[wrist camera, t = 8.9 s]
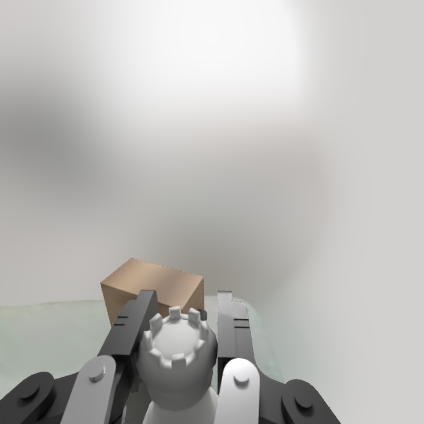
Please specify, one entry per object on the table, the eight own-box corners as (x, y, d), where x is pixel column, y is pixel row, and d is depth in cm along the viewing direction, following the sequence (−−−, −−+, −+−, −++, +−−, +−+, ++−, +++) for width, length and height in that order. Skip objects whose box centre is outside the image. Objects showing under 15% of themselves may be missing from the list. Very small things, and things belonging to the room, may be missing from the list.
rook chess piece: (225, 392, 14) (229, 289, 11) (232, 508, 10) (241, 395, 7) (153, 393, 14) (136, 290, 11) (129, 510, 10) (90, 397, 7)
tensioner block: (119, 359, 23) (100, 282, 20) (143, 328, 27) (131, 257, 23) (196, 394, 20) (192, 313, 16) (212, 354, 24) (212, 279, 20)
